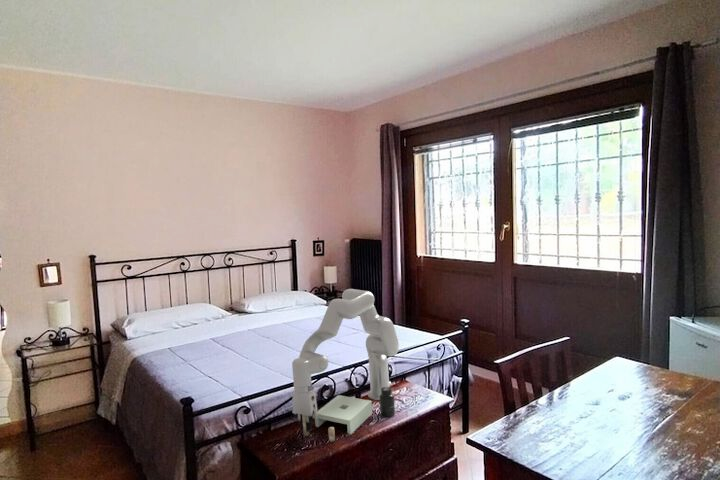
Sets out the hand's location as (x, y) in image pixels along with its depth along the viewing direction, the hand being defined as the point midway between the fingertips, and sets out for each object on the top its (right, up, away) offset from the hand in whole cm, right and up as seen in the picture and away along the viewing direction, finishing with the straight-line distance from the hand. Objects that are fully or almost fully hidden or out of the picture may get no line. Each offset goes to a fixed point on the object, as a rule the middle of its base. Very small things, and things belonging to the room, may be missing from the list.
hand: (306, 429), depth 185 cm
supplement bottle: (+36, +1, +13) cm, 38 cm away
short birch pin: (+12, -2, -6) cm, 13 cm away
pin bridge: (+16, 0, +11) cm, 19 cm away
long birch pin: (0, -2, 0) cm, 2 cm away
